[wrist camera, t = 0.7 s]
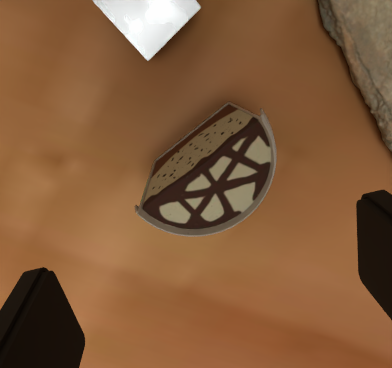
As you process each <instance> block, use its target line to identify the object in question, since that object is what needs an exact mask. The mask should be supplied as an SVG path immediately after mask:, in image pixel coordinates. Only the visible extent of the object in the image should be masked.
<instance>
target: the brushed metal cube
mask: <svg viewBox="0 0 392 368" xmlns="http://www.w3.org/2000/svg"><path fill="white" fill-rule="evenodd" d="M93 2H94V3H95V4H96V5H97V6H98V7H99V8H100V9H101V10H102V12H103V13H104V14H105V15H106V16H107V17H108V18H109V19H110V20H111V21H112V22H113V24H114V25H115V26H116V27H117V28H118V29H119V30H120V31H121V32H122V33H123V34H124V36H125V37H126V38H127V39H128V40H129V41H130V42H131V43H132V44H133V45H134V46H135V48H136V49H137V50H138V51H139V52H140V53H141V54H142V55H143V56H144V57H145V58H146V60H147V61H149V60H150V59H151V58H152V57H153V56H154V55H155V54H156V53H157V52H158V51H159V50H160V49H161V48H162V47H163V46H164V45H165V44H166V43H167V42H168V41H169V40H170V39H171V38H172V37H173V36H174V35H175V33H176V32H177V31H178V30H179V29H180V28H181V27H182V26H183V25H184V24H185V23H186V22H187V21H188V20H189V19H190V18H191V17H192V16H193V15H194V14H195V13H196V12H197V11H198V10H199V9H200V8H201V6H200V5H199V4H198V3H197V1H196V0H93Z"/></svg>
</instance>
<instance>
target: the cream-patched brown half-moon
mask: <svg viewBox="0 0 392 368" xmlns="http://www.w3.org/2000/svg"><path fill="white" fill-rule="evenodd" d="M260 113H261V116H258V115H256V114H254V113H252V112H250V111H248V110H246V109H244V108H242V107H240V106H238V105H236V104H233V103H231V102H229V101H228V102H227V103H226V104H225V105H223V106H222V107H221V108H220V109H218V110H217V111H216V112H215V113H213V114H212V115H211V116H210V117H208V118H207V119H206V120H205V121H203V122H202V123H201V124H200V125H198V126H197V127H196V128H195V129H193V130H192V131H191V132H190V133H188V134H187V135H186V136H185V137H183V138H182V139H181V140H180V141H178V142H177V143H176V144H174V145H173V146H172V147H171V148H169V149H168V150H167V151H166V152H164V153H163V154H162V155H161V156H159V157H158V158H157V159H156V160H154V162H153V165H152V168H151V172H150V175H149V178H148V181H147V184H146V187H145V190H144V193H143V196H142V199H141V203H140V206H139V207H138V206H137V205H135V212H136V213H137V215H138V216H140V217H141V218H142V219H143V220H144V221H146V222H147V223H149V224H151V225H152V226H154V227H156V228H158V229H160V230H162V231H165V232H168V233H171V234H175V235H181V236H206V235H212V234H216V233H219V232H222V231H225V230H227V229H229V228H232V227H234V226H235V225H237V224H239V223H240V222H242V221H243V220H244V219H246V218H247V217H248V216H249V215H251V214H252V212H253V211H254V210H255V209H256V208H257V207H258V206H259V205H260V203H261V202H262V200H263V199H264V197H265V196H266V194H267V192H268V190H269V187H270V185H271V183H272V180H273V177H274V173H275V167H276V146H275V140H274V135H273V131H272V128H271V125H270V123H269V120H268V118H267V116H266V114H265V113H264V111H263V109H262V108H261V109H260Z"/></svg>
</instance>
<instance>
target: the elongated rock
mask: <svg viewBox="0 0 392 368" xmlns="http://www.w3.org/2000/svg"><path fill="white" fill-rule="evenodd" d="M318 2H319V8H320V13H321V17H322V22H323V26H324V28H325V29H326V30H327V31H329V35H330V36H331V37H332V38H333V39H335V40H336V44H337V45H339V46H340V47H341V48H342V51H343V53H344V56H345V58H346V61H347V63H348V65H349V67H350V70H349V71H350V74H351V77H352V81H353V83H354V84H355V85H356V86H357V87H358V88H359V89H360V91H361V94H362V95H363V97H364V100H365V103H366V104H367V105H368V106H369V107H370V108H371V110H370V113H372V114H373V115H374V117H375V118H376V120H377V125H378V128H379V130H380V131H381V135H382V140H383V141H384V143H385V145H386V146H387V147H388V149H389V150H390V151H391V152H392V0H318Z"/></svg>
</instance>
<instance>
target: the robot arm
mask: <svg viewBox="0 0 392 368" xmlns="http://www.w3.org/2000/svg"><path fill="white" fill-rule="evenodd" d="M356 208H357V241H358V271H359V276H360V279H361V281H362V283H363V284H364V286H365V287H366V288H367V289H368V291H369V292H370V293H371V294H372V296H373V297H374V298H375V300H376V301H377V302H378V303H379V305H380V306H381V307H382V308H383V310H384V311H385V312H386V313H387V315H388V316H389V317H390V318H391V320H392V195H391V194H390V193H388V192H387V191H385V190H379V191H375V192H370V193H366V194H363V195H362V197H361V200H358V201H357V205H356ZM84 347H85V337H84V333H83V331H82V329H81V327H80V325H79V323H78V321H77V319H76V317H75V314H74V312H73V310H72V308H71V306H70V304H69V302H68V300H67V298H66V296H65V294H64V291H63V289H62V287H61V285H60V283H59V281H58V279H57V277H56V275H55V273H54V272H53V271H48V269H46V268H44V267H43V268H39V269H34V270H30V271H26V272H24V273H23V274H22V276H21V277H20V279H19V281H18V282H17V284H16V285H15V287H14V289H13V290H12V292H11V294H10V295H9V297H8V298H7V300H6V302H5V303H4V305H3V307H2V308H1V310H0V368H79V366H80V362H81V358H82V354H83V351H84Z"/></svg>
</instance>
